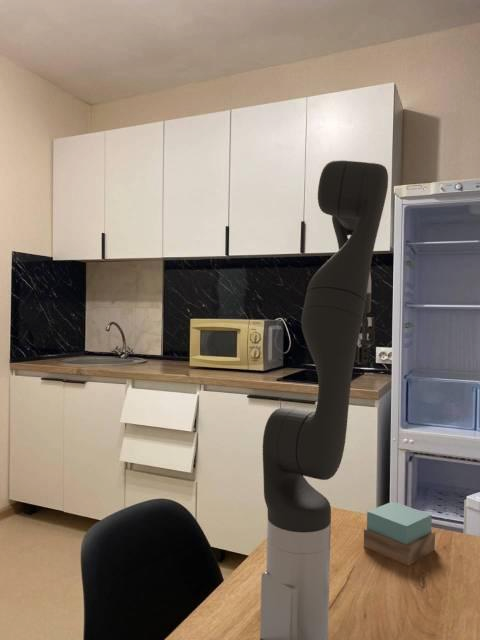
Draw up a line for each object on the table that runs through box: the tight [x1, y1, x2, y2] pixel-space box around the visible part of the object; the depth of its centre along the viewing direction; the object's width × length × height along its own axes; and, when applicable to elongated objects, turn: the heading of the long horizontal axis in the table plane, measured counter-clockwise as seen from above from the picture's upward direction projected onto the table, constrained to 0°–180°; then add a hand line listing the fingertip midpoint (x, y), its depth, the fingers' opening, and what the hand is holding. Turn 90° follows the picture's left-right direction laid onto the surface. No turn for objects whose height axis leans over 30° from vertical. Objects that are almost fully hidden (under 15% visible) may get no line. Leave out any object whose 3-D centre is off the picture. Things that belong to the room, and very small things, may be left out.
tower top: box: [366, 501, 433, 544], centre depth 102 cm, size 9×9×4 cm
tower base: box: [363, 527, 436, 566], centre depth 101 cm, size 10×10×4 cm
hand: (352, 362), depth 115 cm, fingers open, 8 cm apart
